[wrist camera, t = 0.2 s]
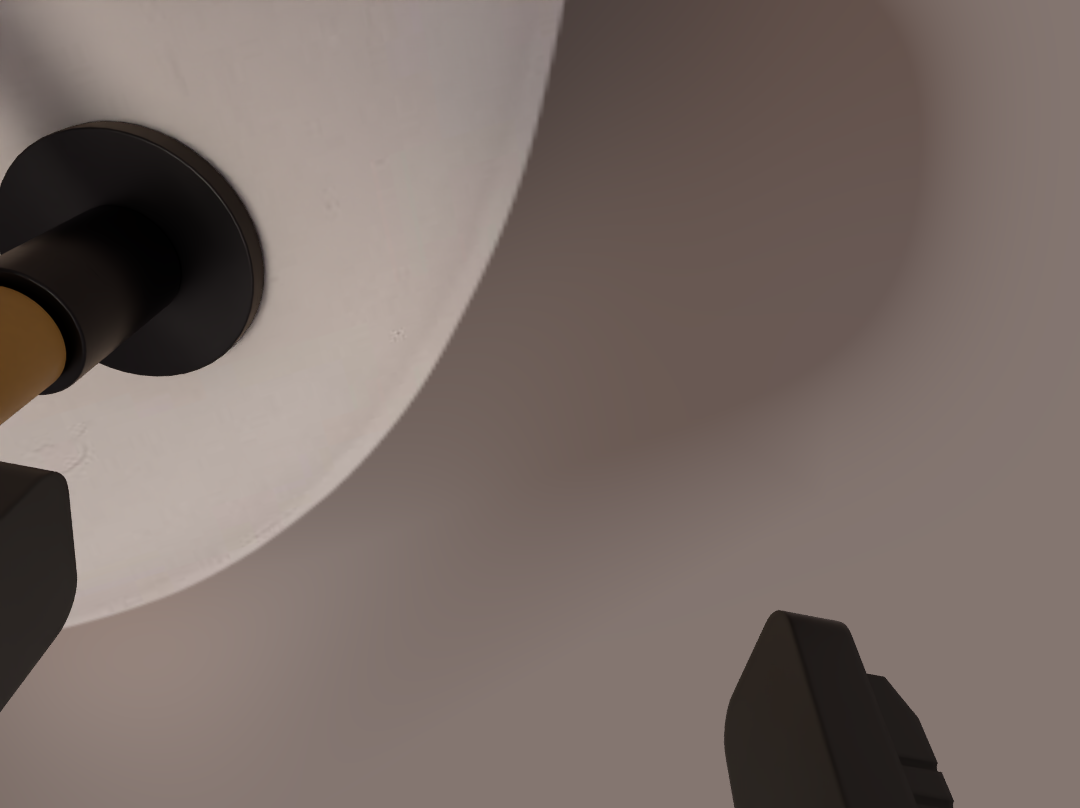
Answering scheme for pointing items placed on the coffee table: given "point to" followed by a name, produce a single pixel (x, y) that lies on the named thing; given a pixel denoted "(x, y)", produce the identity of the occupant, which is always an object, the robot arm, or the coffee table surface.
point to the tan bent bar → (26, 351)
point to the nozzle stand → (129, 250)
